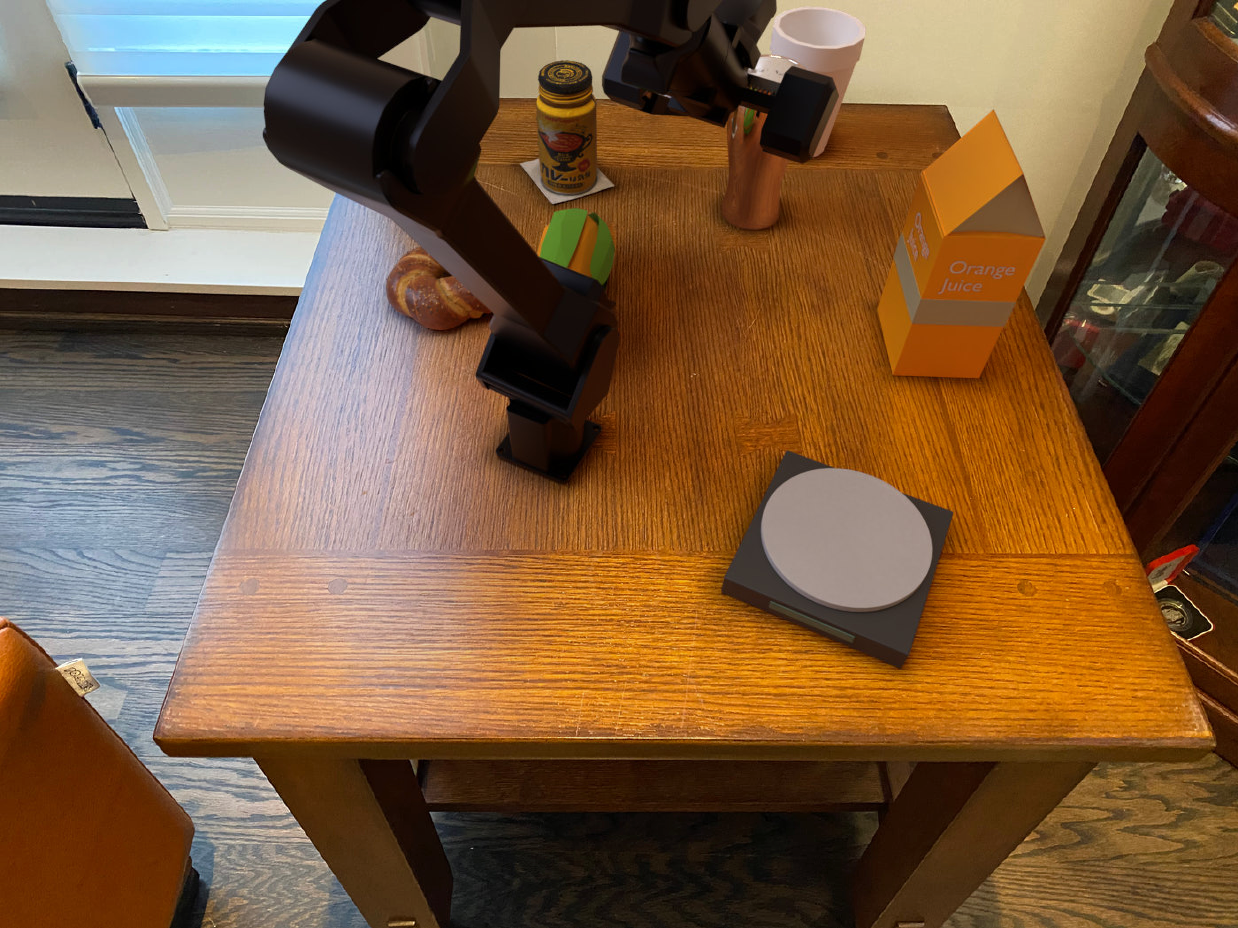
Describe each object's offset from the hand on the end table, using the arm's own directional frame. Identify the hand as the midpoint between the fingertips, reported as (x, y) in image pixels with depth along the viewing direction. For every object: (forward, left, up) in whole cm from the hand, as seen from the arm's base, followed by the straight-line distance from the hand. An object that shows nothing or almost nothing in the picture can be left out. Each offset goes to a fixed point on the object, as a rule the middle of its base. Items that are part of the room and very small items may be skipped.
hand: (739, 125), depth 77 cm
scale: (-31, -22, -13) cm, 40 cm away
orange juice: (-5, -22, -13) cm, 26 cm away
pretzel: (-19, +19, -13) cm, 30 cm away
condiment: (+3, +19, -13) cm, 23 cm away
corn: (-17, +8, -13) cm, 23 cm away
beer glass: (+6, -1, -13) cm, 14 cm away
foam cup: (+21, -1, -13) cm, 24 cm away
